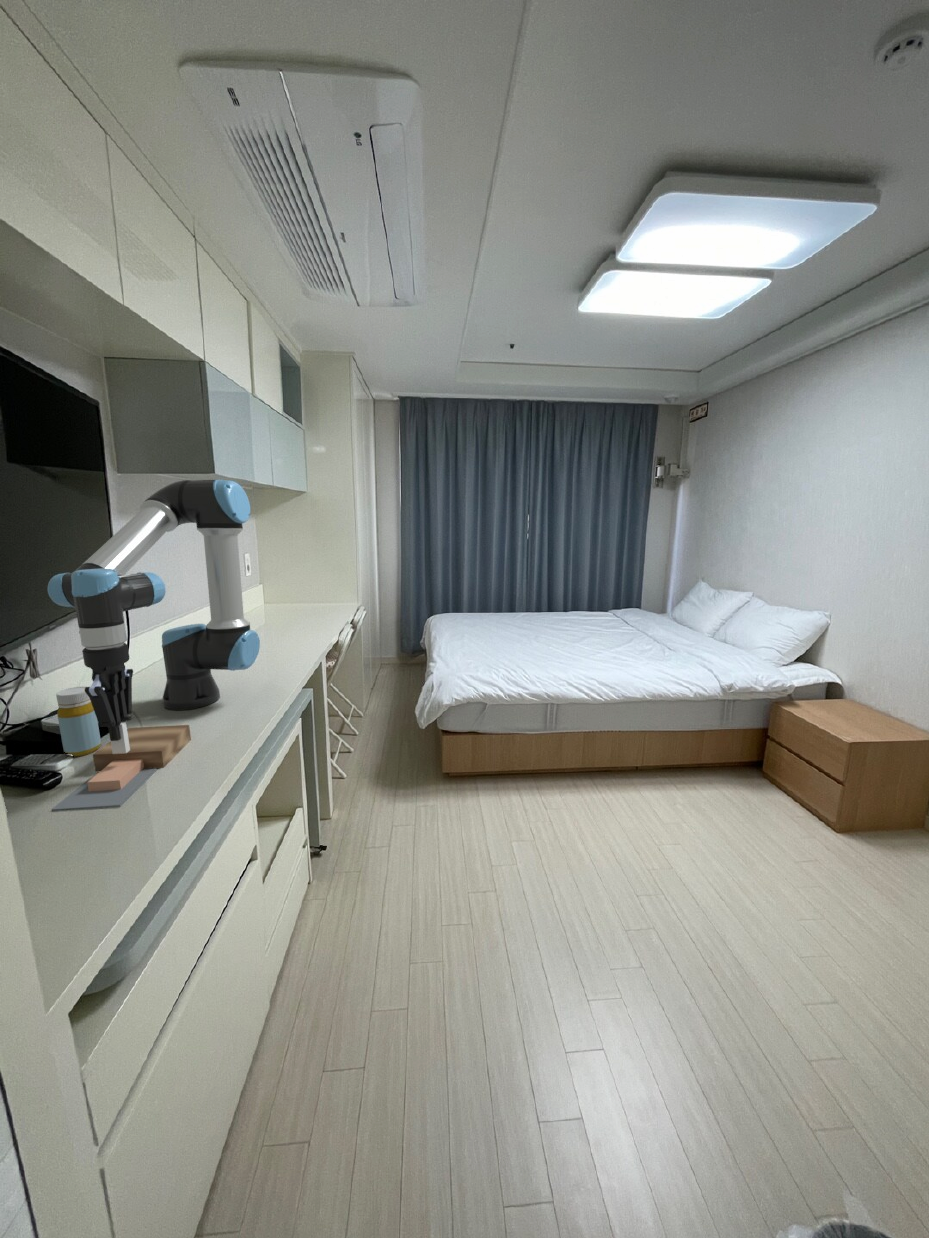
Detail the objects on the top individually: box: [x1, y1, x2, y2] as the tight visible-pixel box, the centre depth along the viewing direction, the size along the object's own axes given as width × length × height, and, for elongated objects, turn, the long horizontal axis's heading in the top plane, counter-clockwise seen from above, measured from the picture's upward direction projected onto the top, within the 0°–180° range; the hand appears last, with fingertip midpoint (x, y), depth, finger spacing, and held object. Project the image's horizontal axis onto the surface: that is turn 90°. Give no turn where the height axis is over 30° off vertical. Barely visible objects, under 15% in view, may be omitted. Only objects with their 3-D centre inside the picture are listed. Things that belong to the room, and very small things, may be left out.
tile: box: [87, 759, 144, 791], centre depth 102 cm, size 9×6×2 cm, turn 7°
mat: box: [51, 768, 158, 812], centre depth 99 cm, size 14×12×1 cm
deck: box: [92, 724, 192, 772], centre depth 113 cm, size 14×14×4 cm
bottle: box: [55, 686, 102, 758], centre depth 114 cm, size 7×7×15 cm
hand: (121, 751), depth 104 cm, fingers closed
